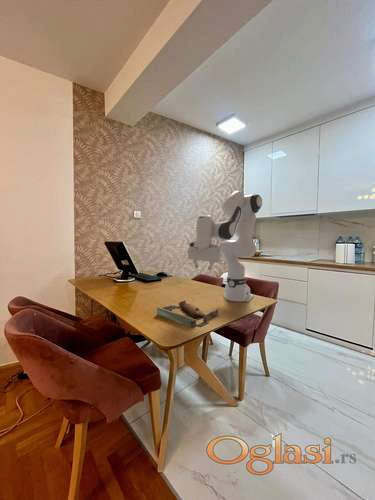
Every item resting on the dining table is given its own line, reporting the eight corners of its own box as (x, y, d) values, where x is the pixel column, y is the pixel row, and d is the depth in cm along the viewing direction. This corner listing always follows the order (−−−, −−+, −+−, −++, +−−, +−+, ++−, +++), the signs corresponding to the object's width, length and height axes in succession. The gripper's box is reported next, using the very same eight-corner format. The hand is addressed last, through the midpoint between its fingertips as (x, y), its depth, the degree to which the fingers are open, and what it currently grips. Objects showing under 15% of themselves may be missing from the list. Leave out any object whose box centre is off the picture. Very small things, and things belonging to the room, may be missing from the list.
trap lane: (184, 305, 133) (184, 298, 133) (218, 314, 118) (218, 307, 118) (156, 315, 117) (156, 307, 116) (192, 327, 101) (192, 319, 101)
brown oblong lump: (208, 317, 114) (203, 307, 112) (198, 325, 112) (192, 315, 110) (193, 306, 130) (188, 297, 129) (184, 314, 128) (178, 305, 126)
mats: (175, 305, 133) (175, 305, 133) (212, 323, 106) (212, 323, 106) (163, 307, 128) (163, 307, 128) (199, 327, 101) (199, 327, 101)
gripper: (222, 244, 119) (222, 270, 120) (193, 243, 133) (192, 266, 133) (216, 245, 115) (215, 271, 115) (186, 243, 128) (185, 267, 129)
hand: (203, 268), depth 125 cm, fingers open, 8 cm apart
